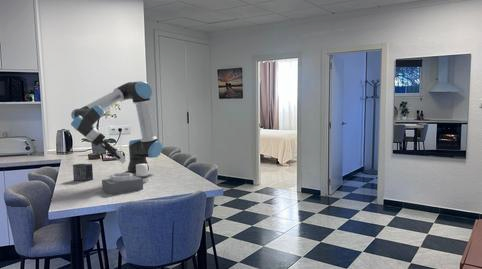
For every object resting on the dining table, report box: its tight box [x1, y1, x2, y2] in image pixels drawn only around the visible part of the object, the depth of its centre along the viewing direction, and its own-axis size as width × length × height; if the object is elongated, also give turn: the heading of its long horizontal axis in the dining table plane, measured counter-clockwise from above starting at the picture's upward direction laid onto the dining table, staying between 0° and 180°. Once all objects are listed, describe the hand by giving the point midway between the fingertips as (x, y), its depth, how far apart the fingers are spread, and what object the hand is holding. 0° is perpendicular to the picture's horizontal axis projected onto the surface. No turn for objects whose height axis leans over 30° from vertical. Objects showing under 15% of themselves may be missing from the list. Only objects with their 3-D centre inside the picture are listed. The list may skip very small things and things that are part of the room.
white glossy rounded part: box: [135, 163, 149, 184], centre depth 215 cm, size 7×7×11 cm
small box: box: [72, 163, 94, 182], centre depth 225 cm, size 11×6×10 cm, turn 74°
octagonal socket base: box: [101, 172, 144, 196], centre depth 196 cm, size 18×14×8 cm
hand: (123, 160), depth 211 cm, fingers open, 13 cm apart
